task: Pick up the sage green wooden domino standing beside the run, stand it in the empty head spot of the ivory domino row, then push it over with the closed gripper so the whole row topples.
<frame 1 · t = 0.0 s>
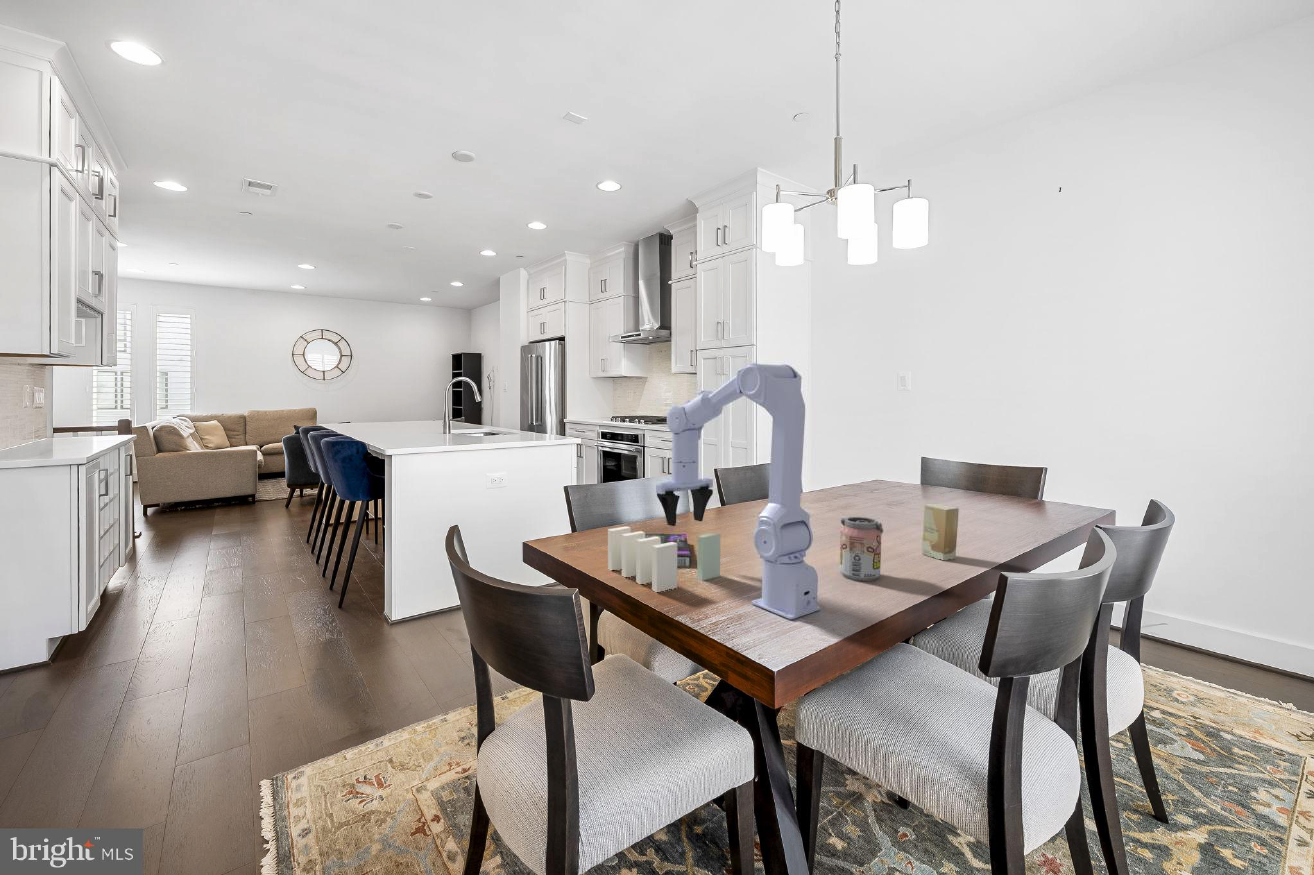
hand: (685, 522, 123), 10 cm above the table, tool pointing down, fingers open, 7 cm apart
skincare box: (938, 557, 133), on the table
domino 5: (619, 568, 123), on the table
domino 4: (633, 575, 119), on the table
paint can: (860, 575, 119), on the table
domino 2: (664, 589, 110), on the table
sage domino: (708, 577, 118), on the table
box: (659, 556, 135), on the table
domino 3: (648, 582, 115), on the table
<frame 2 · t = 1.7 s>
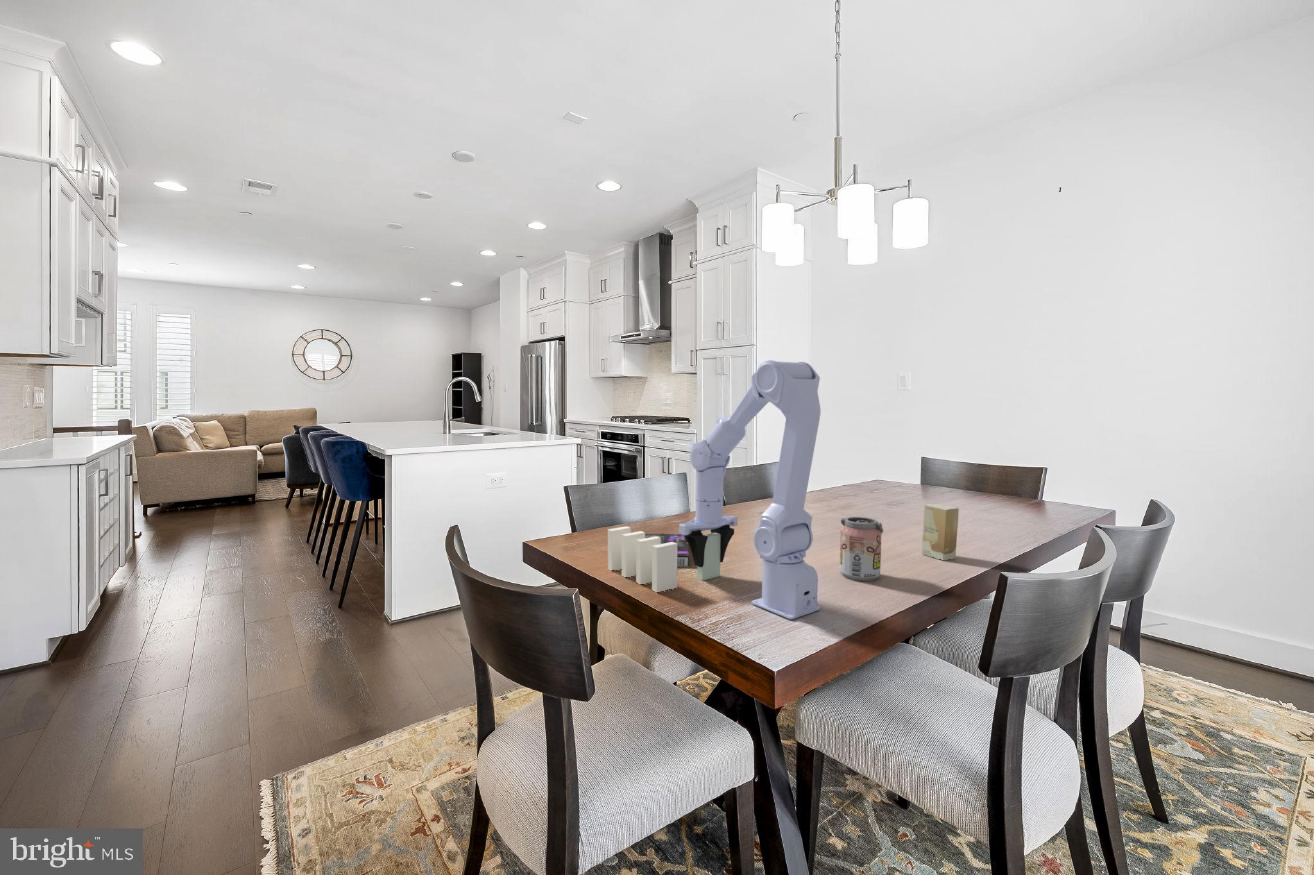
hand: (708, 563, 117), 3 cm above the table, tool pointing down, fingers closed on sage domino, 5 cm apart
sage domino: (708, 577, 118), on the table, touching gripper
everything else where it was.
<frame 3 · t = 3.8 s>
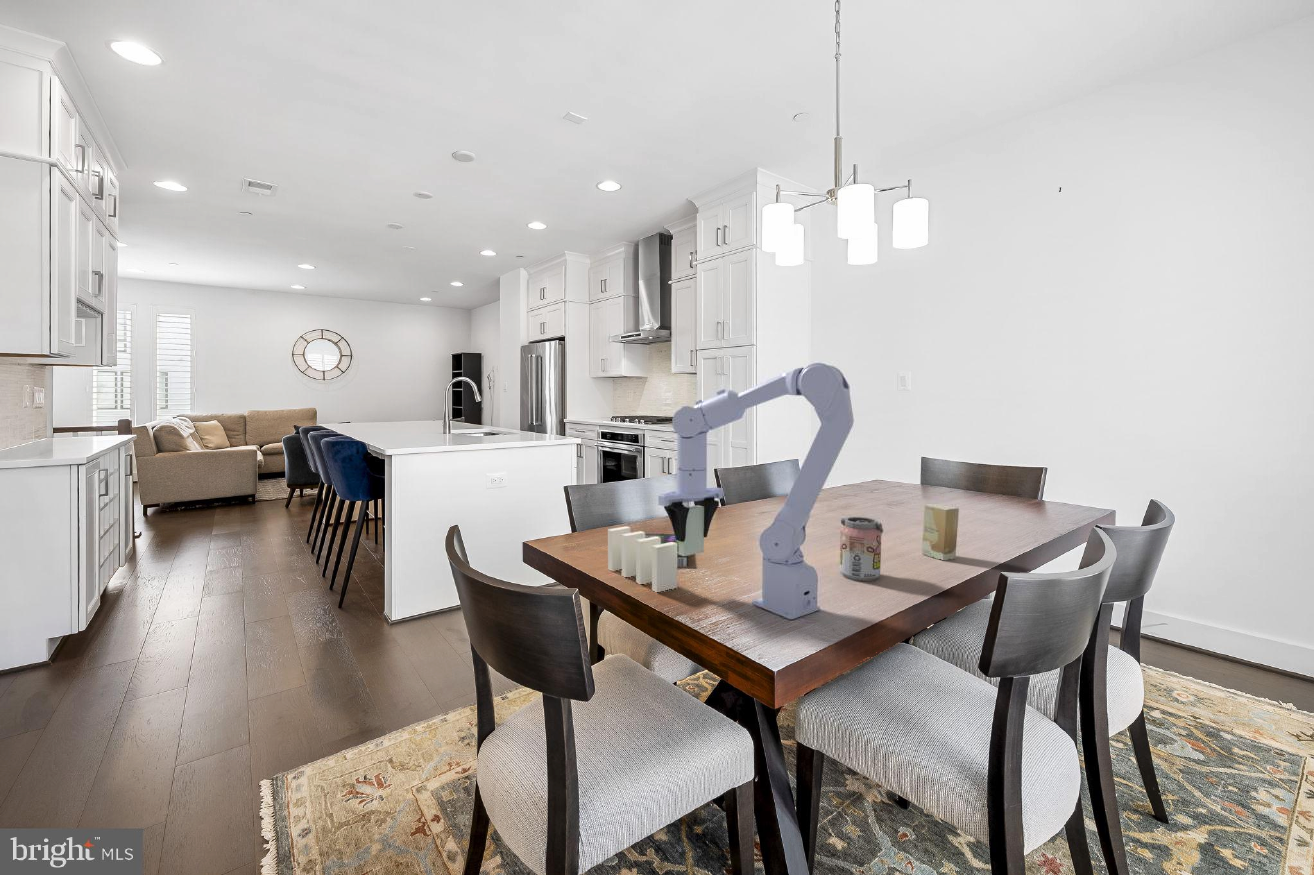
hand: (691, 538, 109), 10 cm above the table, tool pointing down, fingers closed on sage domino, 5 cm apart
sage domino: (691, 553, 109), point 7 cm above the table, touching gripper
everything else where it was.
when the fingers open (4 cm above the table, at t = 6.3 s): sage domino stays where it is, on the table.
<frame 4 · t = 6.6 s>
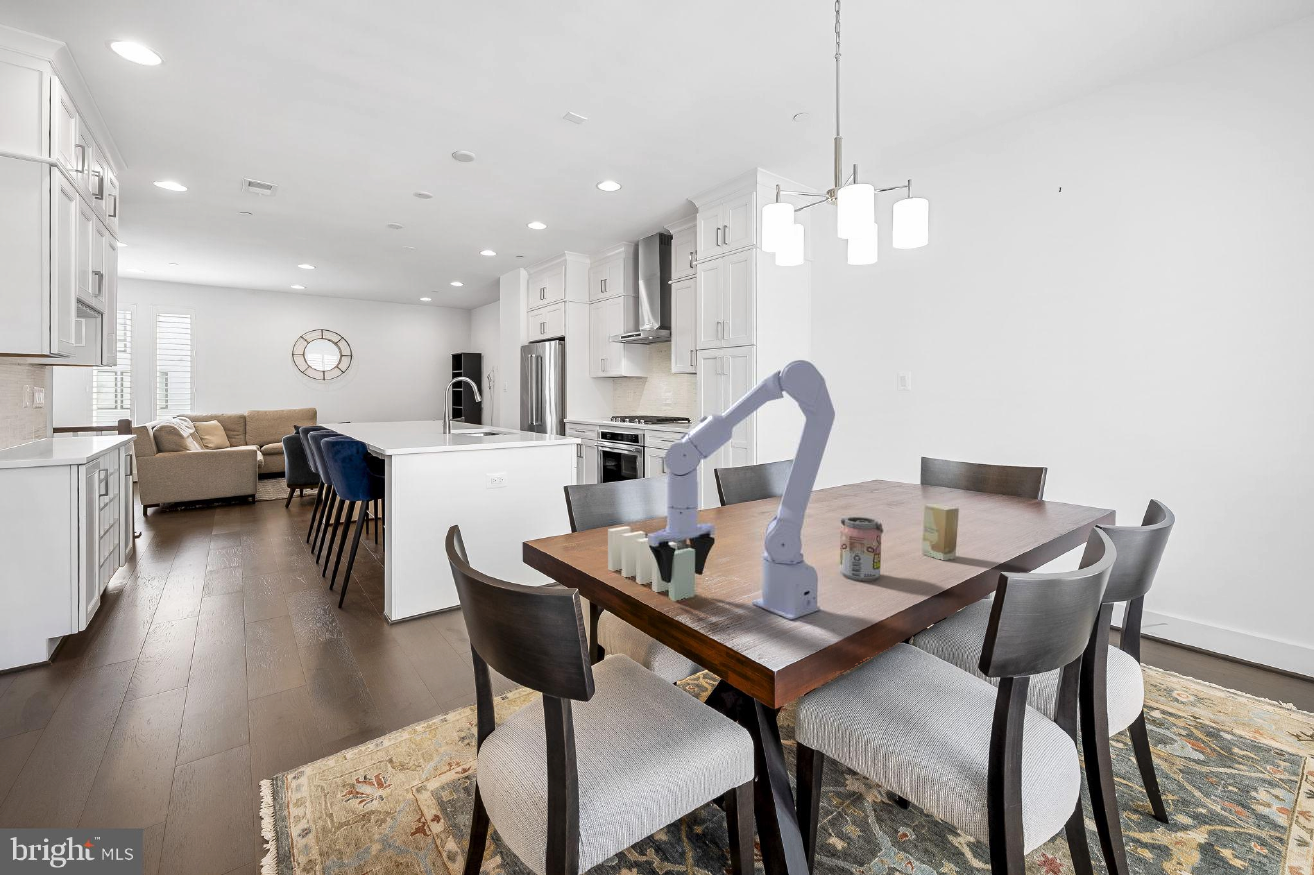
hand: (682, 577, 105), 4 cm above the table, tool pointing down, fingers open, 7 cm apart
sage domino: (681, 597, 106), on the table
everything else where it was.
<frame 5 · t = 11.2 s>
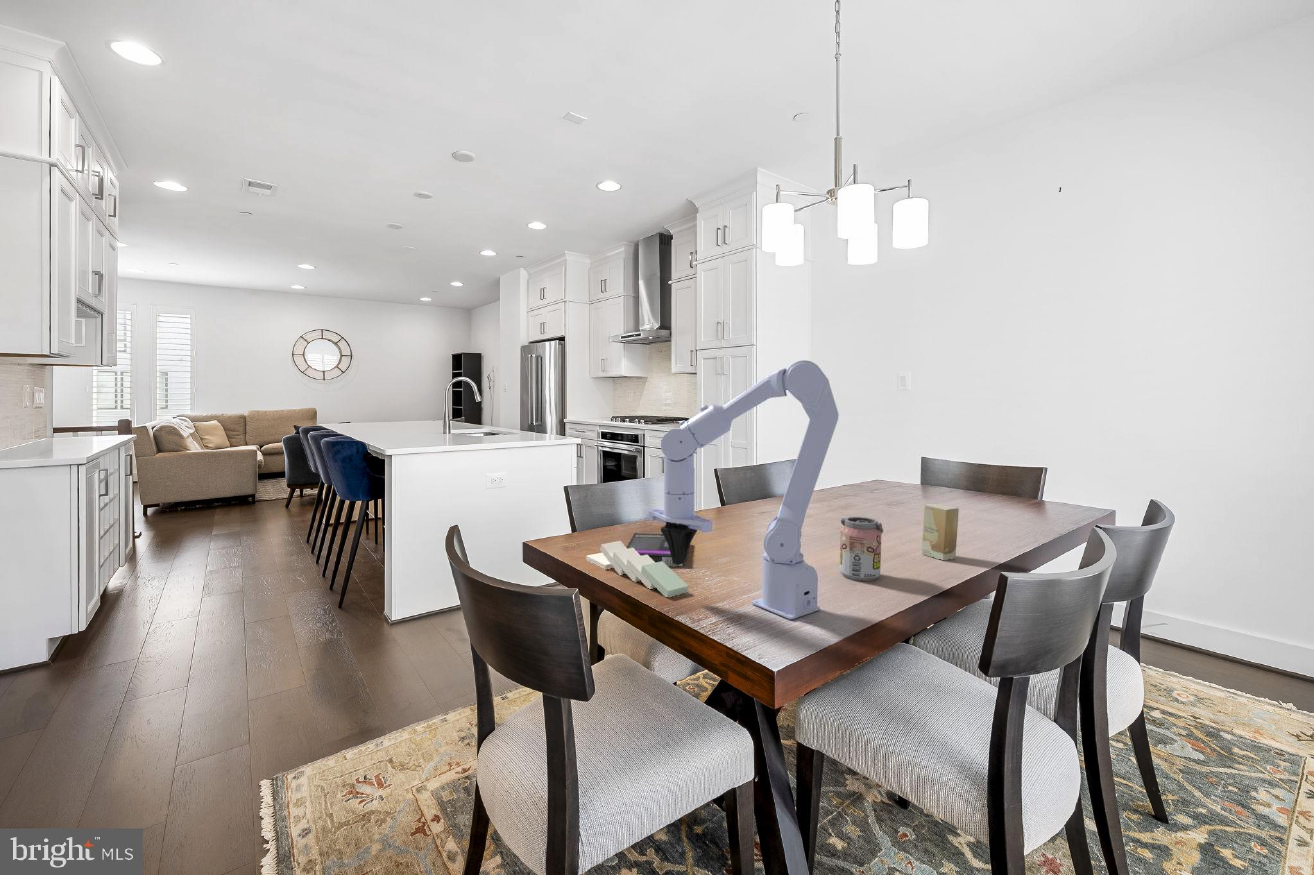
hand: (679, 563, 106), 6 cm above the table, tool pointing down, fingers closed
domino 5: (615, 566, 124), on the table, tilted 90°
domino 4: (630, 570, 120), point 1 cm above the table, tilted 65°, touching domino 3
domino 2: (660, 584, 111), point 1 cm above the table, tilted 71°, touching domino 3, sage domino
sage domino: (677, 591, 107), point 1 cm above the table, tilted 72°, touching domino 2
domino 3: (645, 577, 115), point 1 cm above the table, tilted 69°, touching domino 2, domino 4
everything else where it was.
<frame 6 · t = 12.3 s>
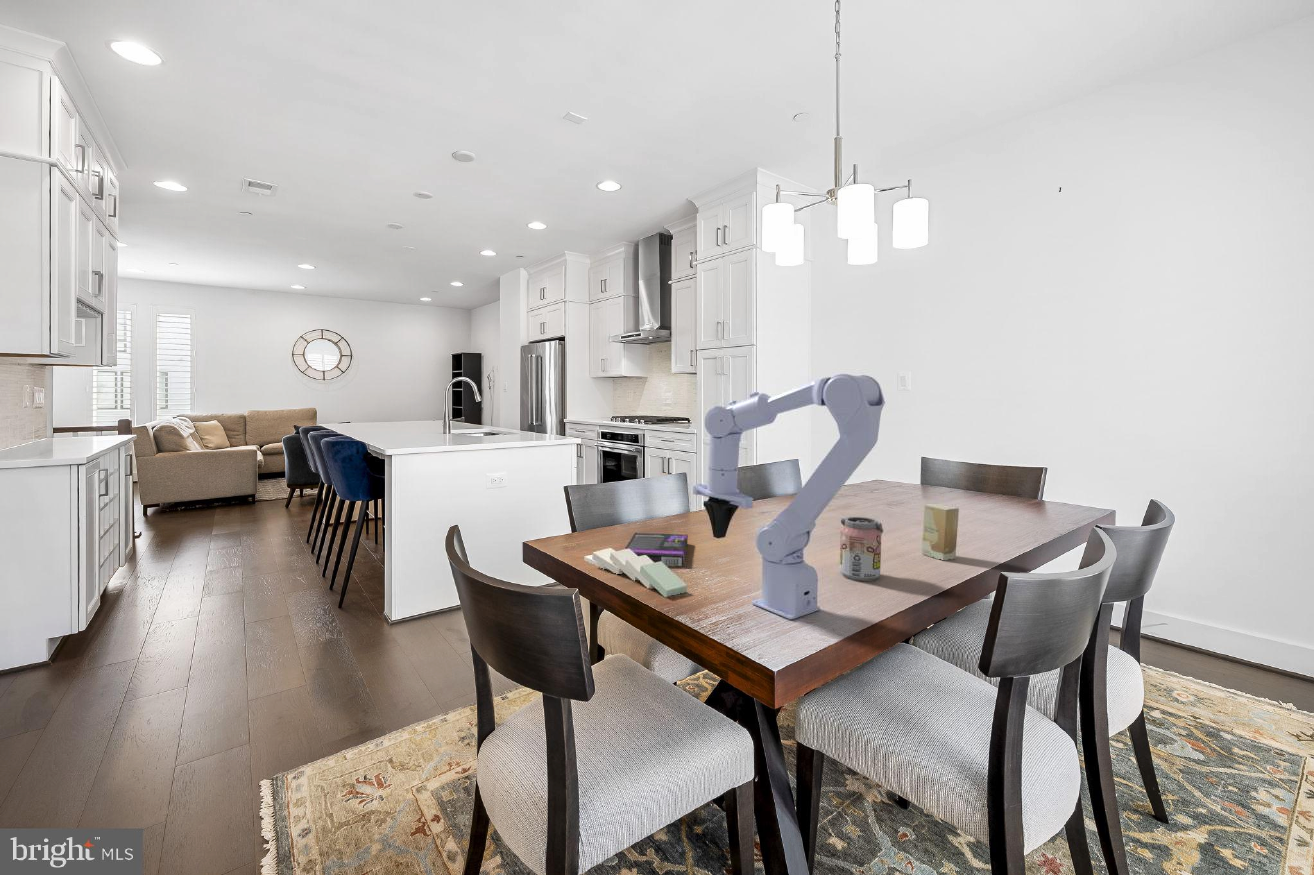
hand: (719, 536, 110), 10 cm above the table, tool pointing down, fingers closed
domino 5: (613, 567, 124), on the table, tilted 90°, touching domino 4
domino 4: (627, 569, 120), point 1 cm above the table, tilted 79°, touching domino 3, domino 5
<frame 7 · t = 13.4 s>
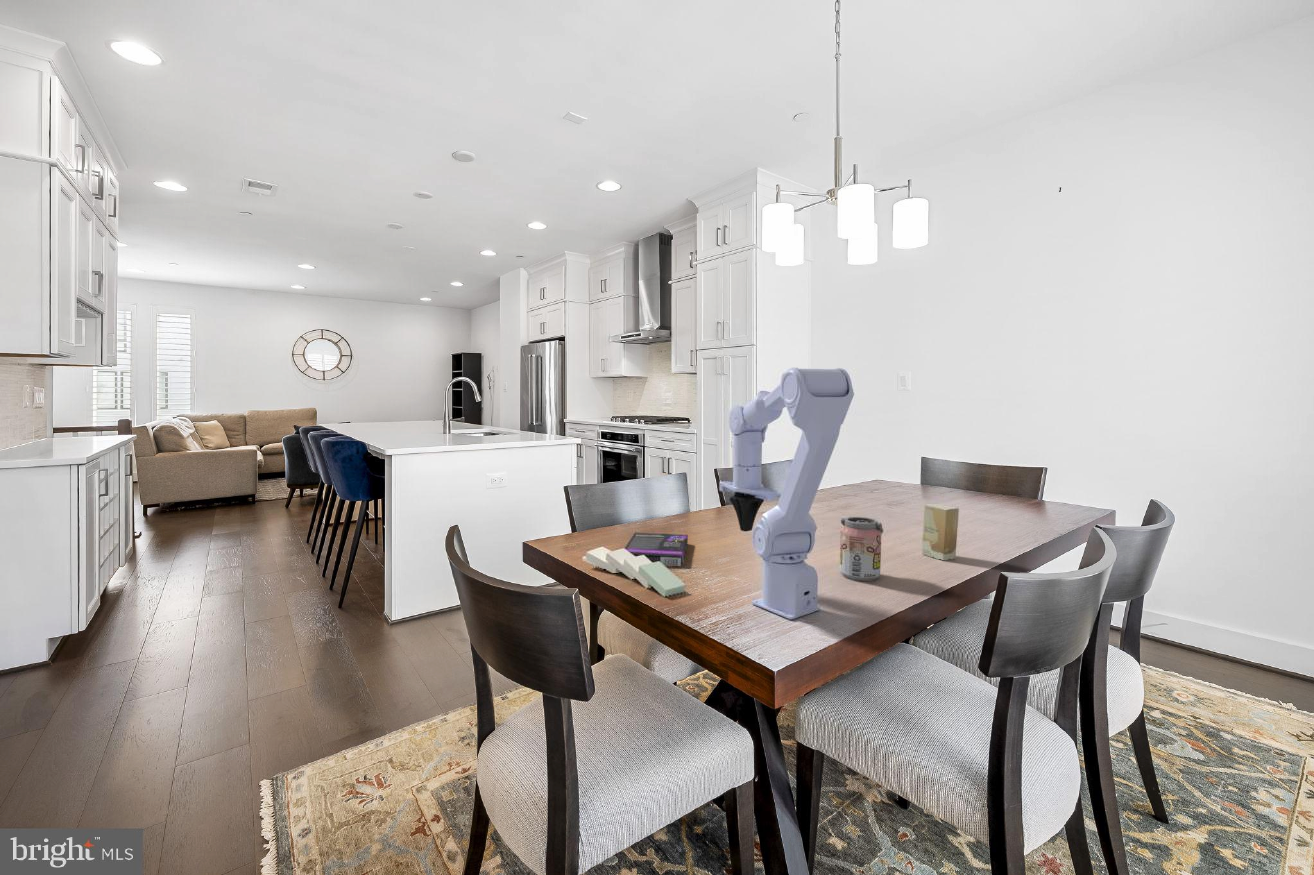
hand: (746, 530, 115), 10 cm above the table, tool pointing down, fingers closed
domino 5: (612, 567, 124), on the table, tilted 90°
domino 4: (623, 567, 121), point 1 cm above the table, tilted 78°, touching domino 3
domino 2: (657, 582, 112), point 1 cm above the table, tilted 73°, touching sage domino
domino 3: (642, 574, 117), point 1 cm above the table, tilted 73°, touching domino 4
everything else where it was.
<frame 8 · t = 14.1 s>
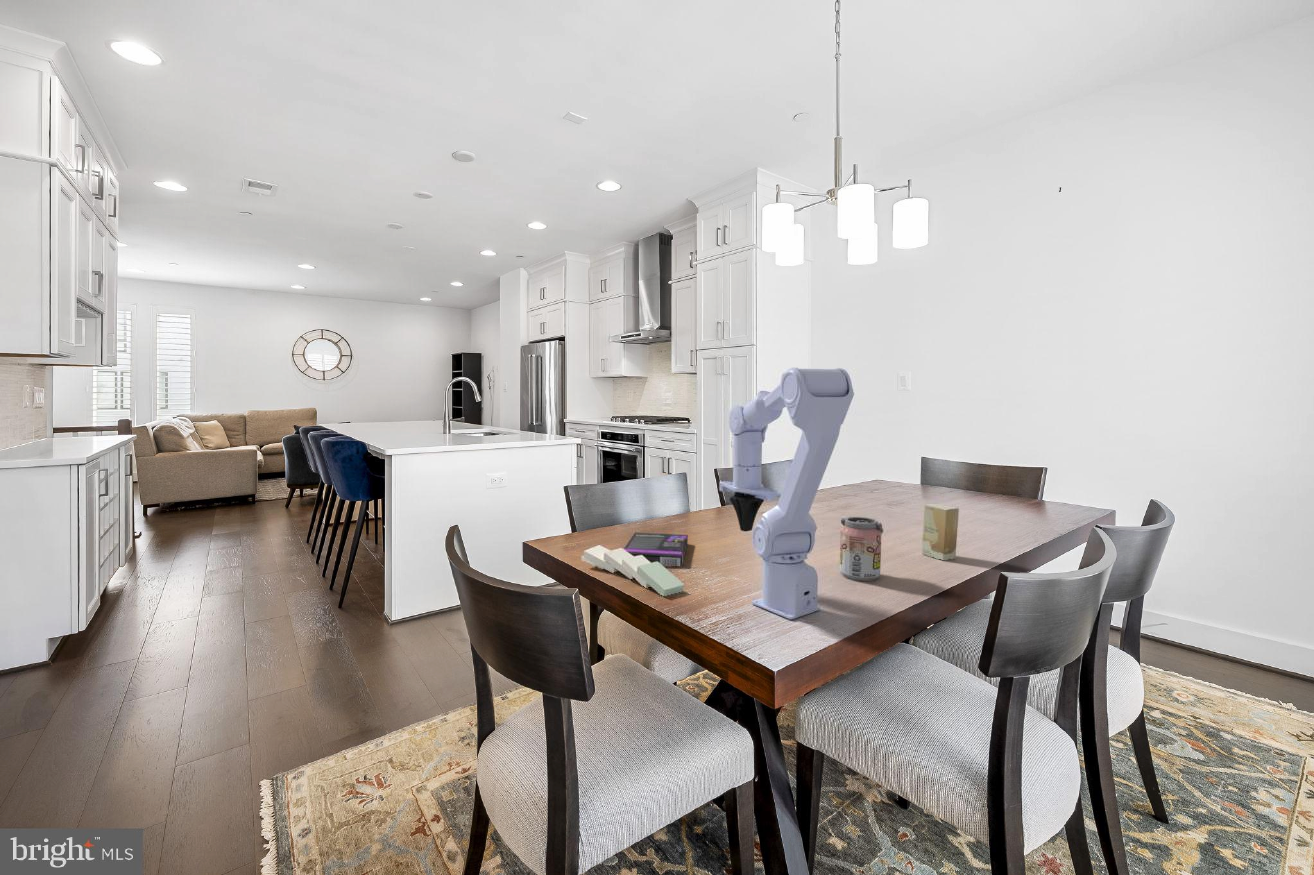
hand: (746, 530, 115), 10 cm above the table, tool pointing down, fingers closed
domino 4: (621, 566, 122), point 1 cm above the table, tilted 77°, touching domino 3
domino 3: (640, 573, 118), point 1 cm above the table, tilted 73°, touching domino 4
at the end: domino 5 tilted 90°; sage domino tilted 74°; sage domino inside the target area (1.3 cm from its centre), point 0.7 cm above the table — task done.
